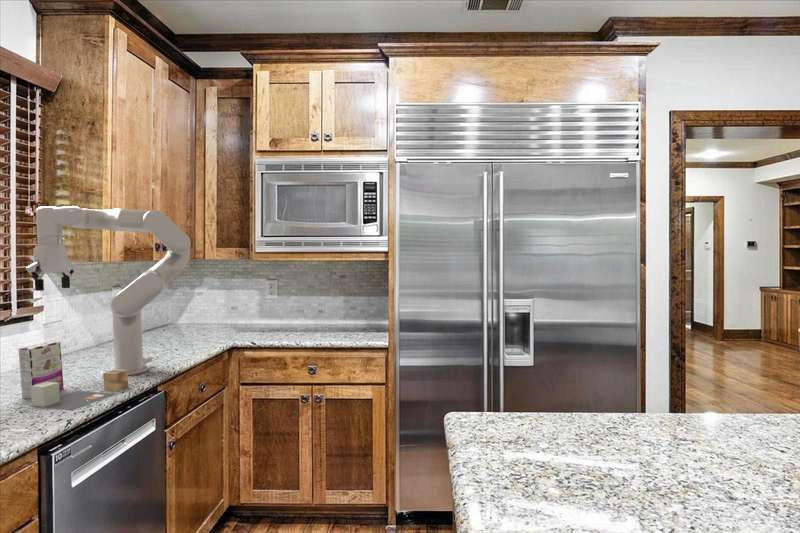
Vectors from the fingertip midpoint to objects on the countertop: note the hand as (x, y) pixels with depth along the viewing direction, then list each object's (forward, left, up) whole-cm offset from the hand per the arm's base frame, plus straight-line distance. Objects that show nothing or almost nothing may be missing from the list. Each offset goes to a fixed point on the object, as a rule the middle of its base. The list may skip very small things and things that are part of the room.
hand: (53, 289), depth 175 cm
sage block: (+21, +22, -33) cm, 45 cm away
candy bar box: (+13, +10, -34) cm, 37 cm away
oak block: (+3, +30, -33) cm, 45 cm away
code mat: (+16, +27, -33) cm, 46 cm away
